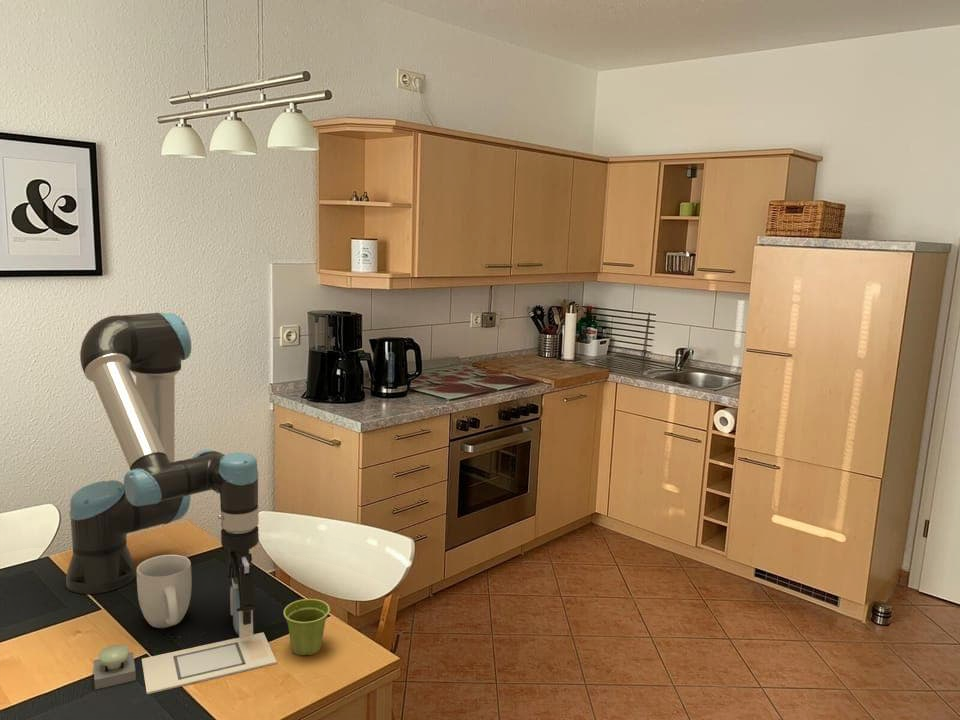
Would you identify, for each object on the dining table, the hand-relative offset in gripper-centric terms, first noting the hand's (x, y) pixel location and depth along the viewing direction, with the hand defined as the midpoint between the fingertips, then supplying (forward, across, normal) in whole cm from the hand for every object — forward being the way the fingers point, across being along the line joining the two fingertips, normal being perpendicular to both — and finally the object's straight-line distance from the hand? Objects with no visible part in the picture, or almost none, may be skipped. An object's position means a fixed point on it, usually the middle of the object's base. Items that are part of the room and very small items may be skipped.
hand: (241, 624), depth 161 cm
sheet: (+2, +9, -8) cm, 12 cm away
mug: (+2, -10, -14) cm, 17 cm away
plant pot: (+2, +12, +11) cm, 16 cm away
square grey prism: (+2, 0, 0) cm, 2 cm away
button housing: (+2, +6, -25) cm, 26 cm away
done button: (0, +6, -25) cm, 26 cm away
